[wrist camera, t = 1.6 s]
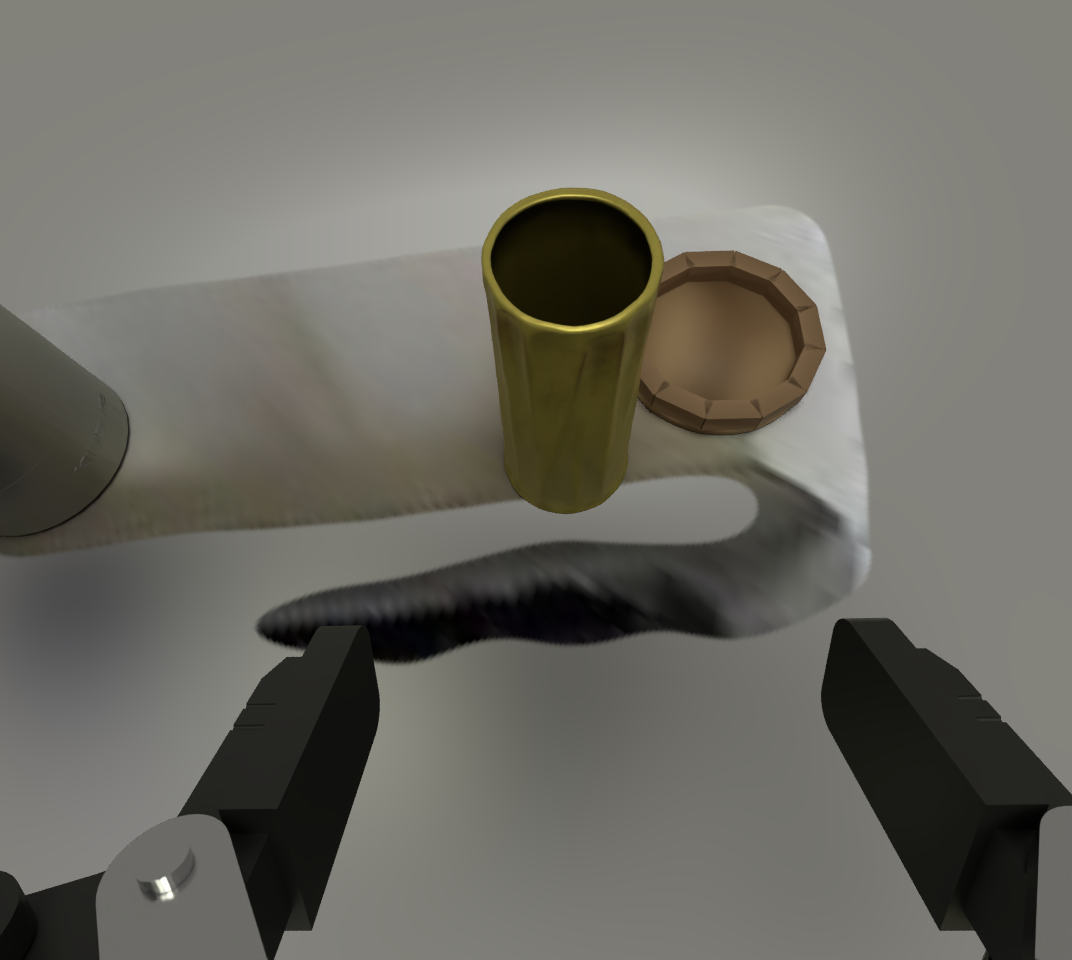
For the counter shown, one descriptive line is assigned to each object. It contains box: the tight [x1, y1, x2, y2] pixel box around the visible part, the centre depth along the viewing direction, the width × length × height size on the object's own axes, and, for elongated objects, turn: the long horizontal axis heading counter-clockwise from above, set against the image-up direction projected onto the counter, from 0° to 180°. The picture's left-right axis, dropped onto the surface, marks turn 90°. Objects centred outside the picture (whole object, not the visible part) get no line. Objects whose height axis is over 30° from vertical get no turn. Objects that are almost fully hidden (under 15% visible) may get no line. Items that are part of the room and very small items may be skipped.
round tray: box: [638, 251, 826, 435], centre depth 32 cm, size 10×10×2 cm
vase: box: [482, 188, 665, 514], centre depth 24 cm, size 6×6×14 cm
